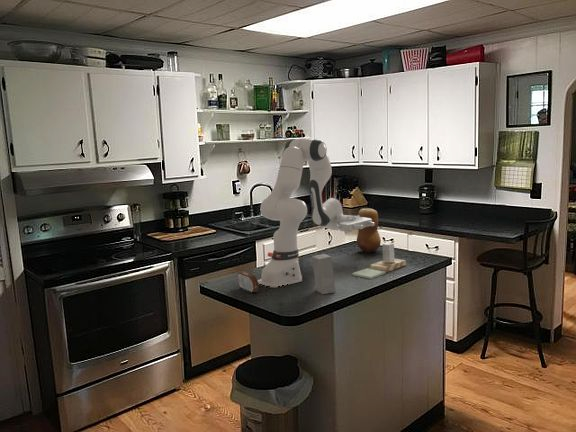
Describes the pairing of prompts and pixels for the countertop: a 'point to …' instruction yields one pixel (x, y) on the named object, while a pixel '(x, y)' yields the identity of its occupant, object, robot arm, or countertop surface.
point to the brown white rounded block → (248, 281)
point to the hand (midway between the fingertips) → (368, 225)
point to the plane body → (388, 265)
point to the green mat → (368, 273)
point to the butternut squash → (369, 232)
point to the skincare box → (323, 273)
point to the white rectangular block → (388, 253)
